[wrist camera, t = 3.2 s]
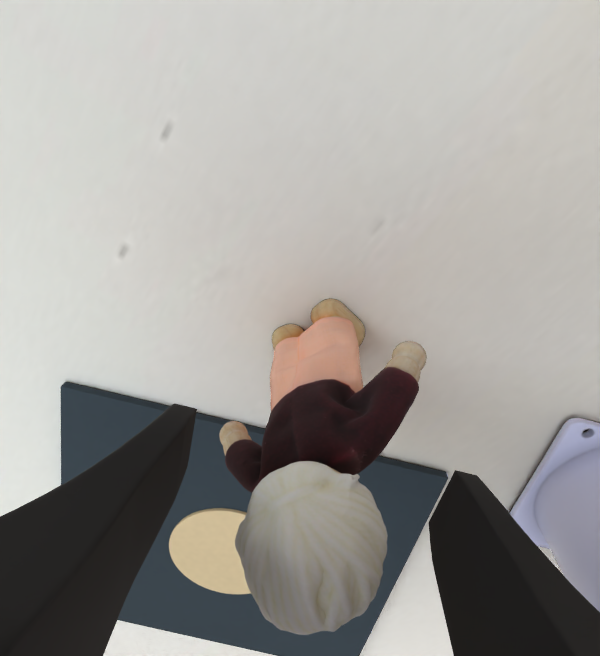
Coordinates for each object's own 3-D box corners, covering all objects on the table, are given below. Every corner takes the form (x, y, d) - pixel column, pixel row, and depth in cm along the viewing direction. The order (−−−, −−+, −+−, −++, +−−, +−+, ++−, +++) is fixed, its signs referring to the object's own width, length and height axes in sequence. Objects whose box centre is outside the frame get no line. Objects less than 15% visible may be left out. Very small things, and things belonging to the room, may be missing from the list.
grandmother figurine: (293, 406, 22) (244, 720, 10) (237, 354, 21) (114, 636, 9) (420, 311, 19) (548, 587, 8) (363, 246, 18) (412, 451, 7)
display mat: (446, 471, 23) (449, 481, 22) (350, 664, 30) (350, 675, 30) (65, 381, 22) (57, 388, 21) (65, 600, 30) (59, 610, 29)
